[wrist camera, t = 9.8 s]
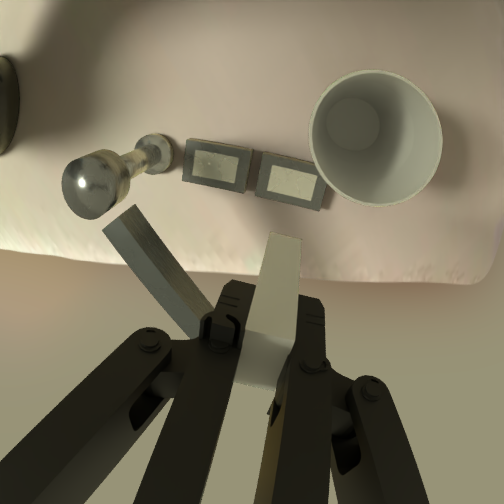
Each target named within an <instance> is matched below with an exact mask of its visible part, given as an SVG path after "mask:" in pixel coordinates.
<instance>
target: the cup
mask: <svg viewBox="0 0 504 504" xmlns="http://www.w3.org/2000/svg"><path fill="white" fill-rule="evenodd" d="M308 138H309V147H310V152H311V156H312V159H313V161H314V164H315V166H316V168H317V170H318V172H319V173H320V175H321V176H322V178H323V179H324V180H325V181H326V183H327V184H328V185H329V186H330V187H331V188H332V189H333V190H335V191H336V192H337V193H338V194H340V195H341V196H343V197H345V198H346V199H348V200H350V201H353V202H355V203H358V204H361V205H366V206H373V207H385V206H391V205H396V204H399V203H402V202H404V201H406V200H408V199H410V198H412V197H413V196H415V195H416V194H418V193H419V192H420V191H421V190H422V189H423V188H424V187H425V186H426V185H427V184H428V183H429V181H430V180H431V179H432V177H433V175H434V174H435V172H436V170H437V167H438V165H439V162H440V158H441V153H442V144H443V139H442V129H441V125H440V121H439V118H438V115H437V113H436V111H435V109H434V107H433V105H432V103H431V102H430V100H429V99H428V98H427V96H426V95H425V94H424V93H423V92H422V91H421V90H420V89H419V88H418V87H417V86H416V85H415V84H413V83H412V82H411V81H409V80H407V79H406V78H404V77H402V76H400V75H397V74H395V73H392V72H388V71H383V70H361V71H356V72H353V73H350V74H347V75H345V76H343V77H341V78H339V79H338V80H336V81H335V82H334V83H332V84H331V85H330V86H329V87H328V88H327V89H326V90H325V91H324V92H323V93H322V95H321V96H320V98H319V99H318V101H317V103H316V104H315V107H314V109H313V111H312V114H311V118H310V123H309V132H308Z"/></svg>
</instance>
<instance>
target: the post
mask: <svg viewBox="0 0 504 504" xmlns="http://www.w3.org/2000/svg"><path fill="white" fill-rule="evenodd" d="M173 155H174V153H173V147H172V145H171V143H170V141H169V140H168V139H167V138H166V137H164V136H163V135H160V134H149V135H146V136H144V137H142V138H141V139H140V140H139V141H138V142H137V144H136V146H135V149H134V150H133V151H131V152H128V153H126V154H124V155H121V156H120V157H121V158H122V159H123V160H124V162H125V163H126V165H127V167H128V170H129V174H130V180H131V179H132V178H134V177H136V176H137V175H139V174H141V173H143V172H145V173H147V174H151V175H155V174H159V173H161V172H163V171H164V170H166V169H167V168H168V167H169V166H170V165H171V163H172V160H173Z"/></svg>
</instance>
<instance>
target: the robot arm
mask: <svg viewBox="0 0 504 504" xmlns="http://www.w3.org/2000/svg"><path fill="white" fill-rule="evenodd" d="M18 111H19V88H18V81H17V77H16V73H15V70H14V68H13V66H12V65H11V63H10V62H9V61H8V60H7V59H6V58H4V57H0V154H1V153H2V152H4V151H5V149H6V148H7V147H8V145H9V144H10V142H11V140H12V137H13V135H14V132H15V128H16V124H17V119H18ZM301 240H302V239H298V238H294V237H290V236H286V235H282V234H277V233H273V232H270V235H269V239H268V243H267V247H266V251H265V254H264V258H263V262H262V266H261V270H260V273H259V278H258V281H257V285H253V284H249V283H245V282H241V281H236V280H231V281H230V282H229V283H227V284H226V285H224V287H223V290H222V292H221V295H220V297H219V299H218V302H217V304H216V307H215V309H214V311H210V312H208V313H206V314H204V316H203V317H202V318H201V319H200V329H199V336H198V337H196V338H194V339H190V340H171V339H170V337H169V335H168V334H167V333H165V332H164V331H163V330H160V329H157V328H152V327H151V328H150V327H146V328H142V329H139V330H137V331H136V332H134V333H133V334H132V335H130V336H129V338H127V339H126V340H125V341H124V342H123V343H122V344H121V345H120V346H119V347H118V348H117V349H116V350H114V352H112V353H111V354H110V355H109V356H108V357H107V358H106V359H105V360H104V361H103V362H102V363H101V364H100V365H99V366H98V367H97V368H95V369H94V370H93V371H92V372H91V373H90V374H89V375H88V376H87V377H86V378H85V379H84V380H83V381H82V382H81V383H80V384H79V385H78V386H76V387H75V388H74V389H73V390H72V391H71V392H70V393H69V394H68V395H67V396H66V397H65V398H64V399H63V400H62V401H61V402H60V403H59V404H58V405H57V406H56V407H55V408H54V409H53V410H52V411H51V412H50V413H49V414H48V415H47V416H45V418H44V419H42V420H41V422H40V423H38V424H37V425H36V427H34V428H33V429H32V430H31V431H30V432H29V433H28V434H27V435H26V436H25V437H24V438H23V439H22V440H21V441H20V442H19V443H18V444H17V445H16V446H15V447H14V448H13V449H12V450H11V451H10V452H9V453H8V454H7V455H6V456H5V457H4V458H3V459H2V460H1V462H0V504H84V503H85V502H86V500H88V498H89V497H90V496H91V495H92V494H93V492H94V491H95V490H96V489H97V488H98V487H99V485H100V484H101V483H102V482H103V481H104V479H105V478H106V477H107V476H108V475H109V473H110V472H111V471H112V470H113V468H114V467H115V466H116V465H117V464H118V463H119V461H120V460H121V459H122V458H123V457H124V455H125V454H126V453H127V452H128V450H129V449H130V448H131V447H132V445H133V444H134V443H135V442H136V441H137V439H138V438H139V437H140V436H141V434H142V433H143V432H144V431H145V430H146V428H147V427H148V426H149V424H150V423H151V422H152V421H153V419H154V418H155V417H156V416H157V415H158V413H159V412H160V411H161V410H162V408H163V407H164V406H165V404H166V403H167V402H168V401H169V400H170V398H174V400H173V403H172V406H171V408H170V411H169V413H168V415H167V418H166V420H165V423H164V425H163V428H162V430H161V433H160V435H159V438H158V441H157V443H156V446H155V448H154V451H153V453H152V456H151V458H150V461H149V463H148V466H147V469H146V471H145V474H144V476H143V479H142V481H141V484H140V487H139V489H138V492H137V494H136V497H135V500H134V502H133V504H201V500H202V496H203V493H204V489H205V486H206V482H207V479H208V475H209V471H210V468H211V464H212V460H213V457H214V453H215V450H216V446H217V442H218V438H219V435H220V431H221V427H222V424H223V420H224V416H225V412H226V409H227V405H228V401H229V397H230V393H231V389H232V385H233V382H236V383H240V384H244V385H248V386H253V387H257V388H262V389H266V390H271V391H274V390H275V388H276V393H275V397H274V399H273V401H272V404H271V406H270V408H269V410H268V412H267V414H268V415H270V417H269V422H268V428H267V435H266V440H265V446H264V451H263V457H262V462H261V468H260V473H259V479H258V484H257V489H256V494H255V499H254V504H328V497H329V496H328V495H329V482H330V480H329V479H330V468H331V472H332V477H333V482H334V486H335V491H336V495H337V500H338V504H429V501H428V498H427V494H426V491H425V488H424V485H423V482H422V479H421V476H420V473H419V470H418V467H417V464H416V461H415V458H414V455H413V452H412V450H411V447H410V444H409V441H408V439H407V436H406V433H405V430H404V428H403V425H402V423H401V420H400V417H399V415H398V412H397V410H396V407H395V404H394V402H393V399H392V397H391V394H390V392H389V390H388V388H387V386H386V385H385V383H383V382H382V381H381V380H380V379H378V378H376V377H373V376H367V375H365V376H361V377H358V378H357V379H356V380H355V381H354V380H351V379H349V378H347V377H345V376H343V375H341V374H339V373H337V372H336V371H335V370H334V369H332V368H331V365H330V362H329V360H328V359H327V358H326V350H325V349H326V347H325V346H326V345H325V313H324V311H325V310H324V307H323V305H322V303H321V301H320V300H319V299H317V298H312V297H308V296H303V295H299V279H300V261H301ZM276 385H277V386H276Z"/></svg>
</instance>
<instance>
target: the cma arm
mask: <svg viewBox="0 0 504 504" xmlns="http://www.w3.org/2000/svg"><path fill="white" fill-rule="evenodd" d="M129 188H130V174H129V170H128V167H127V165H126V163H125V162H124V160H123V159H122V158H121V157H120V156H119V155H118V154H117V153H115V152H113V151H111V150H106V149H102V150H98V151H95V152H93V153H90V154H88V155H85V156H83V157H80V158H78V159H76V160H74V161H72V162H70V163H69V164H68V165H67V167H66V168H65V170H64V173H63V176H62V191H63V195H64V198H65V200H66V203H67V204H68V206H69V207H70V209H71V210H72V211H73V212H74V213H75V214H76V215H78V216H79V217H81V218H84V219H88V220H93V219H97V218H99V217H100V216H102V215H103V214H104V213H106V212H107V211H109V210H110V209H111V208H113V207H114V206H116V205H117V204H118V203H120V202H121V201H122V200H123V199H124V198H125V197H126V196H127V194H128V191H129ZM102 231H103V233H104V234H105V235H106V237H107V238H108V239H109V241H110V242H111V243H112V245H113V246H114V247H115V249H116V250H117V251H118V253H119V254H120V255H121V257H122V258H123V259H124V261H125V262H126V263H127V264H128V266H129V267H130V268H131V269H132V271H133V272H134V273H135V274H136V276H137V277H138V278H139V280H140V281H141V282H142V283H143V284H144V285H145V287H146V288H147V289H148V291H149V292H150V293H151V294H152V295H153V296H154V298H155V299H156V300H157V301H158V303H159V304H160V305H161V306H162V307H163V308H164V310H166V312H167V313H168V314H169V315H170V316H171V318H172V319H173V320H174V321H175V322H176V323H177V324H178V326H179V327H180V328H181V329H182V330H183V331H184V332H185V333H186V335H187V336H188V337H190V339H194V338H196V337H198V336H199V329H200V319H201V318H202V317H203V316H204V314H206V313H208V312H210V311H214V307H213V306H212V305H211V304H210V302H209V301H208V300H207V299H206V298H205V296H204V295H203V294H202V293H201V291H200V290H199V289H198V287H197V286H196V285H195V284H194V282H193V281H192V280H191V278H190V277H189V276H188V275H187V273H186V272H185V271H184V269H183V268H182V267H181V266H180V264H179V263H178V262H177V260H176V259H175V258H174V256H173V255H172V254H171V252H170V251H169V250H168V248H167V247H166V246H165V244H164V243H163V242H162V240H161V239H160V238H159V236H158V235H157V234H156V232H155V231H154V229H153V228H152V227H151V225H150V224H149V223H148V221H147V220H146V218H145V217H144V216H143V214H142V213H141V211H140V210H139V209H138V207H137V206H136V204H134V205H133V206H132V207H130V208H129V209H128V210H126V211H125V212H124V213H122V214H121V215H120V216H119V217H117V218H116V219H115V220H114V221H112V222H111V223H110V224H109V225H107V226H106V227H105V228H104V229H103V230H102Z"/></svg>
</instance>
